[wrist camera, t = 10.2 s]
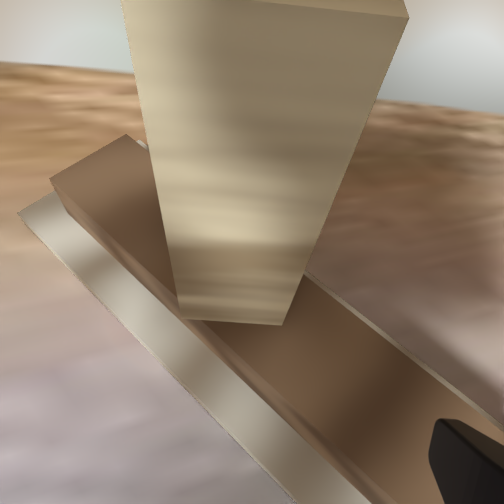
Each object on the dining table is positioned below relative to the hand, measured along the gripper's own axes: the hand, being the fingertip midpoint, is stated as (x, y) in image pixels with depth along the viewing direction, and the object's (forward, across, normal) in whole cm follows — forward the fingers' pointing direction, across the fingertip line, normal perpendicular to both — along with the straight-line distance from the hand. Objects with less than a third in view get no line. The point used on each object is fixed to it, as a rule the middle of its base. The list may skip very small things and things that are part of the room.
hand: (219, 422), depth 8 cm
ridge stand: (+12, -2, +4) cm, 13 cm away
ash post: (+10, 0, 0) cm, 10 cm away
